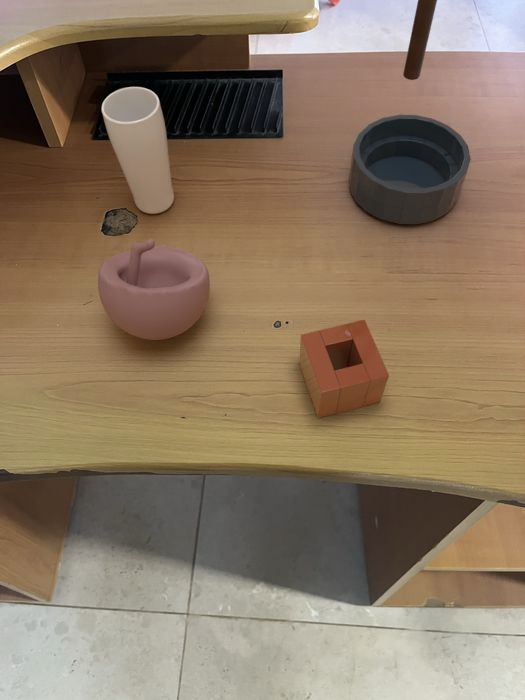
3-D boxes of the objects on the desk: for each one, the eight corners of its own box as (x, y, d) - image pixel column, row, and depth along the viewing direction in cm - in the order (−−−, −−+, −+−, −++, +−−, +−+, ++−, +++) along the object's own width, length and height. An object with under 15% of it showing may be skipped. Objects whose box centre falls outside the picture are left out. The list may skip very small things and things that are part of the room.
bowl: (431, 142, 82) (441, 105, 77) (476, 214, 75) (490, 178, 69) (334, 162, 80) (338, 126, 75) (370, 237, 73) (377, 203, 68)
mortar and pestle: (225, 283, 70) (216, 217, 60) (200, 367, 64) (185, 308, 54) (132, 269, 71) (109, 202, 62) (99, 350, 65) (67, 290, 56)
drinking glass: (189, 205, 77) (170, 108, 64) (145, 227, 75) (117, 131, 62) (164, 177, 80) (142, 78, 67) (121, 197, 78) (90, 100, 65)
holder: (358, 348, 65) (364, 318, 59) (380, 402, 61) (389, 375, 56) (298, 363, 64) (300, 334, 59) (318, 418, 60) (321, 392, 55)
